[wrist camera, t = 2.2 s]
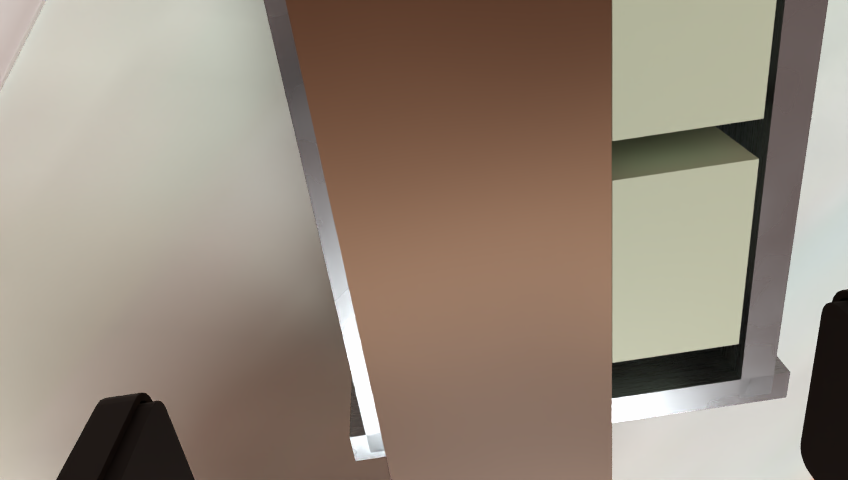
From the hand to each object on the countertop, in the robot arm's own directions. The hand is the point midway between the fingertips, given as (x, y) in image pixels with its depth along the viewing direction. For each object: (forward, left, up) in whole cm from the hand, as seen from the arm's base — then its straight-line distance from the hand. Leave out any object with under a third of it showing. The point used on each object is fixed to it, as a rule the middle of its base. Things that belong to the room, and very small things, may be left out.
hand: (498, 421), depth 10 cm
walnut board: (0, 0, -12) cm, 12 cm away
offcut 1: (-4, +6, -12) cm, 14 cm away
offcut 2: (+3, +6, -12) cm, 14 cm away
